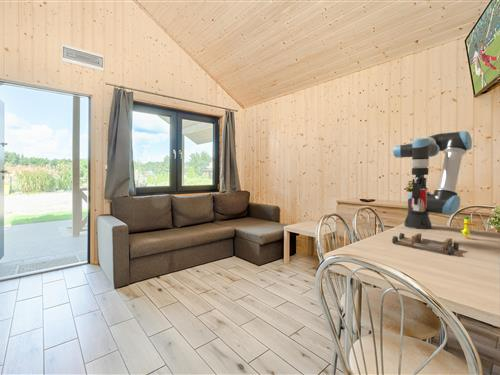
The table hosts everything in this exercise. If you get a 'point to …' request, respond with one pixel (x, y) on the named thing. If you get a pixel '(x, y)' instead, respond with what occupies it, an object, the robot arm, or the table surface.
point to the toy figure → (466, 225)
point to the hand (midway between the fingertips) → (418, 209)
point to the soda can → (421, 200)
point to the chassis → (426, 244)
